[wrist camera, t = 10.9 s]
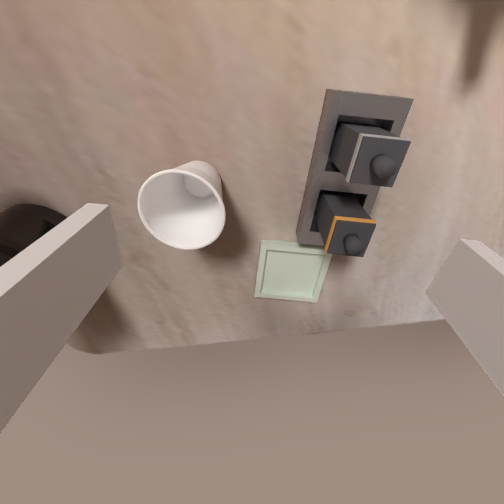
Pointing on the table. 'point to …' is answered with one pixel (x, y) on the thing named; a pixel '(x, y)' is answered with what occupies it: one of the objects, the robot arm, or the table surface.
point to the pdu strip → (322, 168)
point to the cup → (183, 205)
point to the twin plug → (368, 153)
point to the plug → (343, 223)
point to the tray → (291, 270)
